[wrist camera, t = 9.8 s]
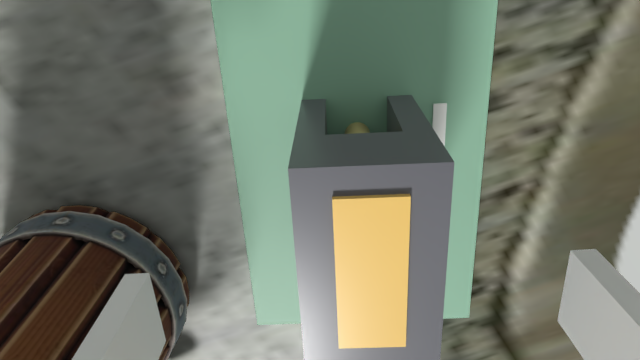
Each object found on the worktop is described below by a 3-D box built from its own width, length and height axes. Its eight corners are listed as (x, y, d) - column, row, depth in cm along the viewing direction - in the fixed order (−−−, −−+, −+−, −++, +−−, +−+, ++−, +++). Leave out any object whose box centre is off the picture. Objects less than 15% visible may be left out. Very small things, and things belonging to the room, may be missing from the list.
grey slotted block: (311, 248, 25) (304, 370, 17) (301, 99, 22) (287, 171, 14) (406, 245, 25) (441, 366, 17) (411, 95, 21) (456, 164, 14)
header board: (258, 317, 28) (246, 380, 23) (211, -14, 20) (181, -9, 16) (466, 310, 27) (491, 373, 23) (496, -32, 20) (541, -31, 16)
